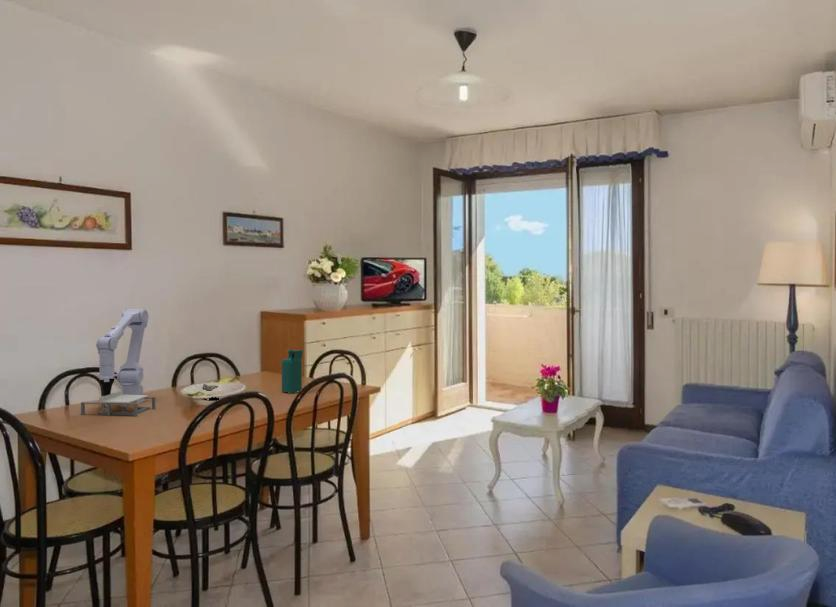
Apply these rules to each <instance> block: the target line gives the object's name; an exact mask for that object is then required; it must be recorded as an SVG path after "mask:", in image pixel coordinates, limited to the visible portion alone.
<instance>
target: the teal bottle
mask: <svg viewBox="0 0 836 607" xmlns="http://www.w3.org/2000/svg"><path fill="white" fill-rule="evenodd" d="M286 352H288V353H287V356H288V357H287V358H284V359H282V360H281V392H282V391H283V392H282V393H284V392H289V393H293V392H297V391H300V390H301V389H302V388H303V386H302V385H303V373H302V372H303V366H302V365H303V361H302V359H303V353H304V352H303V349H298V350H297V349H287V350H286ZM302 390H303V389H302ZM289 393H288V394H289ZM293 394H294V393H293Z"/></svg>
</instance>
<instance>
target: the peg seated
mask: <svg viewBox="0 0 836 607" xmlns="http://www.w3.org/2000/svg"><path fill="white" fill-rule="evenodd" d="M122 406H123V405H111V410H112V411H119V410H122Z"/></svg>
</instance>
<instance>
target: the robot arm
mask: <svg viewBox="0 0 836 607" xmlns="http://www.w3.org/2000/svg"><path fill="white" fill-rule="evenodd" d="M149 316H150V315H149V312H148V310H147V309H146V308H124V309H123V311H122V312H121V318H120V320H119V321H118V322H117V324H116V325H113V326H111V327H110V329H109V330H107V333H105V334H104V336H100V337H99V338H97V341H96V344H95V347H96V349H97V354H98V355H99V357H98V358H99V375H98V378H100V379H99V383H100V385H101V387H102V392H103V396H106V395H109V394H112V393H111V392H112V388H113V387H112V386H113V384H114V382H115V378H114V377H116V379H117V382H118V383H119V384H120V386H121V391H123V395H144V387H143V385H142V384H141V383H142V382H143V380H144V368H143V367H142V366H141V365H140V364H139V362H140V361H139V360H140V357H141V350H142V345H143V339H144V336H145V335H144V333H145V329H146V328H147V327H148V322H149ZM127 327H128V328H130V329H131V335H130V340H129V345H128V351H127V357H126V362H125V363H123V364H121V366H120V368H119V371H118V372H117V373H115V350H116V349H117V347H118V344H119V340H120V339H121V338H122V337H123V336H124V332H125V331H124V330H126V328H127ZM145 401H146V399H144V398H142V399H140V400H137V404H141V403H143V402H145Z"/></svg>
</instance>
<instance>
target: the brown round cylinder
mask: <svg viewBox="0 0 836 607" xmlns="http://www.w3.org/2000/svg"><path fill="white" fill-rule="evenodd" d="M127 404H138V403H137V401H134V402H131V403H127ZM126 406H127V409H126V411H134V405H126Z"/></svg>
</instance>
